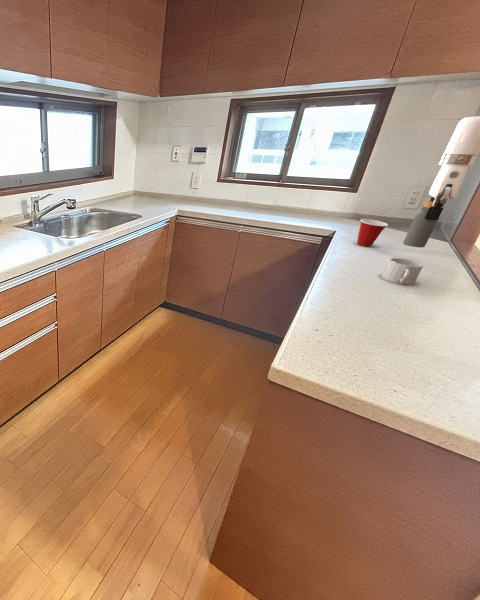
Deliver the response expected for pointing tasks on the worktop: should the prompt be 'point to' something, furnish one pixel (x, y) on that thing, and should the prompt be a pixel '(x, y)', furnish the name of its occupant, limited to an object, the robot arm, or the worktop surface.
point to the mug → (402, 271)
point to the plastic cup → (369, 231)
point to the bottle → (420, 228)
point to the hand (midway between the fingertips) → (428, 217)
